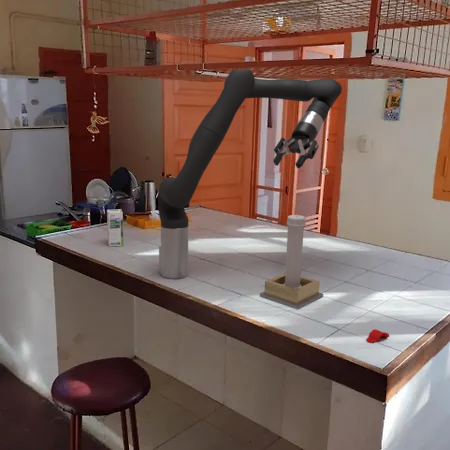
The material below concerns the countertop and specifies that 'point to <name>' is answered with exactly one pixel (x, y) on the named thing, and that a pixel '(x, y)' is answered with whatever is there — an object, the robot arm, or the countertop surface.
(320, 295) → the socket
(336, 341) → the countertop surface
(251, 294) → the countertop surface
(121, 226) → the syrup box
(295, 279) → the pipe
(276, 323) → the countertop surface
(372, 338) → the pipe clamp
